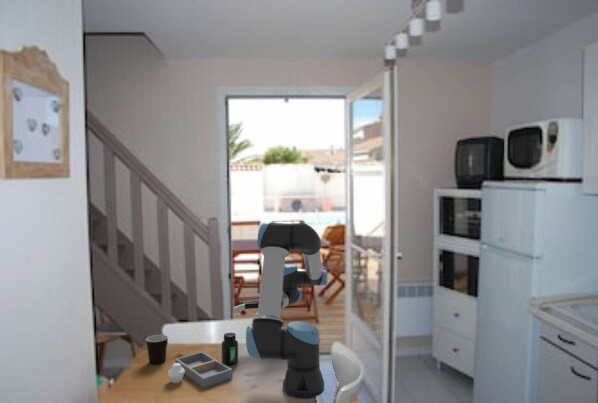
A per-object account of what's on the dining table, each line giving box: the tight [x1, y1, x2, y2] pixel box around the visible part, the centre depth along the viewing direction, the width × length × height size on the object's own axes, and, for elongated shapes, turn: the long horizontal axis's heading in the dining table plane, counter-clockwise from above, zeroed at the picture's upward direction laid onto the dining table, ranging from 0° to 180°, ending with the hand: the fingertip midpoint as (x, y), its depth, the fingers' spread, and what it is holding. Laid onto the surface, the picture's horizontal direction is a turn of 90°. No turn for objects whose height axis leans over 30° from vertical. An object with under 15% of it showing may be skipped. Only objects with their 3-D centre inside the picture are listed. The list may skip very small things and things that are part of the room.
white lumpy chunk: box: [167, 362, 185, 384], centre depth 159 cm, size 6×6×7 cm
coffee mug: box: [145, 334, 169, 366], centre depth 179 cm, size 12×9×10 cm
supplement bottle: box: [220, 332, 239, 367], centre depth 176 cm, size 7×7×12 cm
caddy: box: [174, 351, 233, 389], centre depth 167 cm, size 23×12×4 cm, turn 41°
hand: (244, 313), depth 182 cm, fingers open, 13 cm apart
